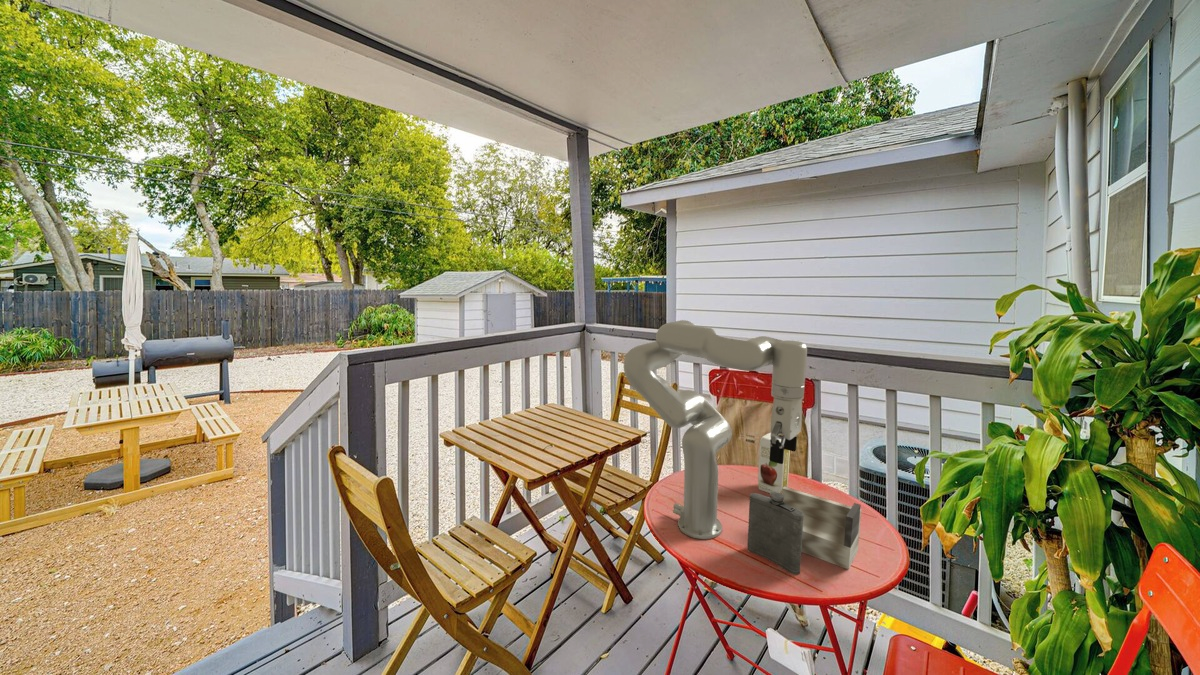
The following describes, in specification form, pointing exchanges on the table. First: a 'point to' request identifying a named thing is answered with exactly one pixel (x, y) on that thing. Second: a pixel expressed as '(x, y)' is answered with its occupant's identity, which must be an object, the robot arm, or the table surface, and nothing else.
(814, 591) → the table surface
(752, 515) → the flask
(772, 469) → the juice carton
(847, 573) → the table surface
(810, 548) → the stone display stand
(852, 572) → the table surface
